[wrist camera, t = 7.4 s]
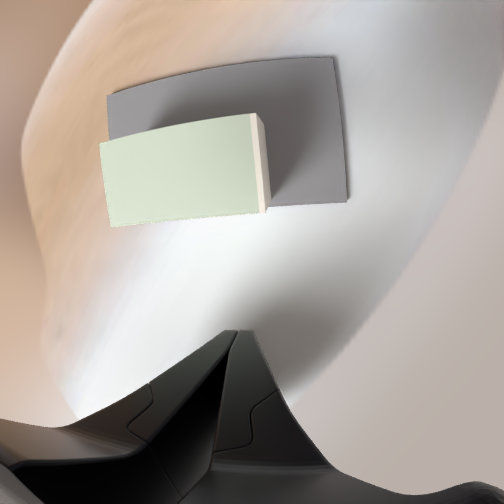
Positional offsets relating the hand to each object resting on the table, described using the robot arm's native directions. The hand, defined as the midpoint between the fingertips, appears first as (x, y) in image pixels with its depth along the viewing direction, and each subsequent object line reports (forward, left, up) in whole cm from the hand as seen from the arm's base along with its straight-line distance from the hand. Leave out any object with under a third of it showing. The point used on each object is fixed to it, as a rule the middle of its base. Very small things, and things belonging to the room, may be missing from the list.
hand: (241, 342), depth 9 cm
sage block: (+5, 0, -10) cm, 11 cm away
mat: (+7, +3, -13) cm, 15 cm away
